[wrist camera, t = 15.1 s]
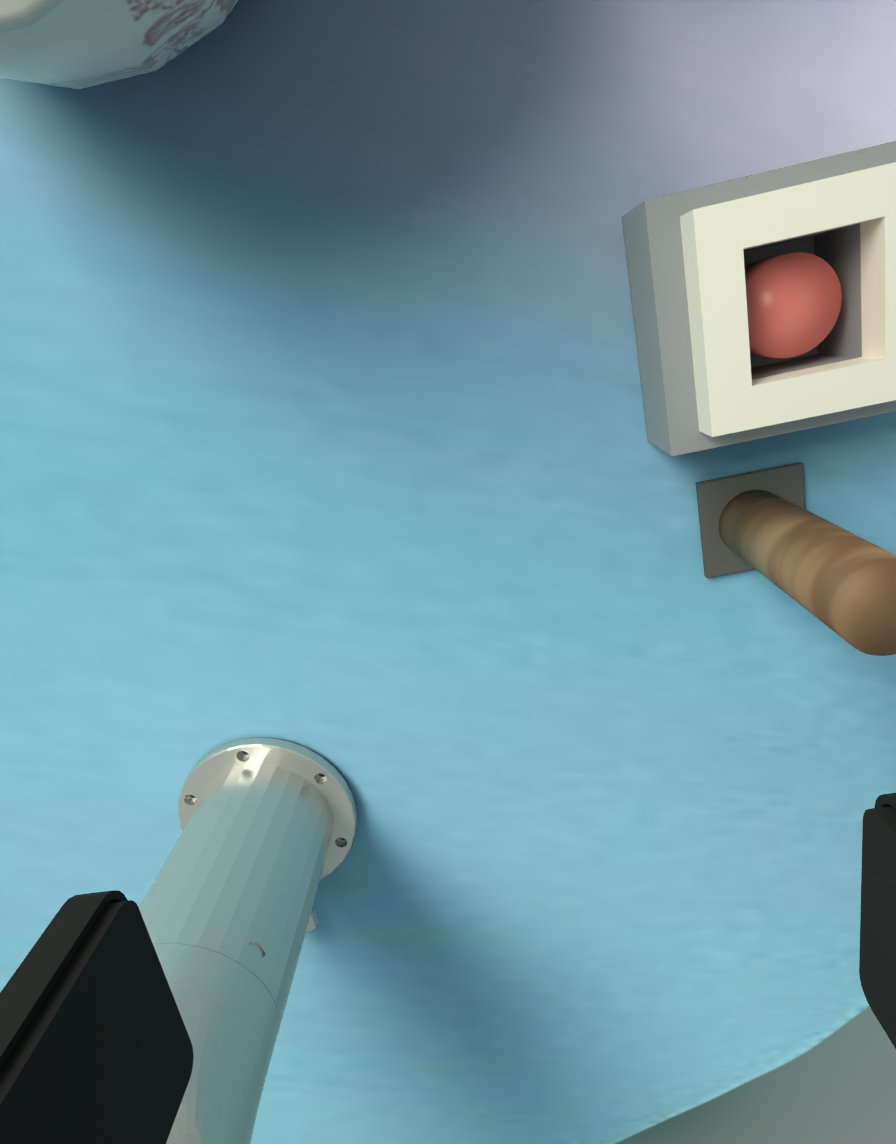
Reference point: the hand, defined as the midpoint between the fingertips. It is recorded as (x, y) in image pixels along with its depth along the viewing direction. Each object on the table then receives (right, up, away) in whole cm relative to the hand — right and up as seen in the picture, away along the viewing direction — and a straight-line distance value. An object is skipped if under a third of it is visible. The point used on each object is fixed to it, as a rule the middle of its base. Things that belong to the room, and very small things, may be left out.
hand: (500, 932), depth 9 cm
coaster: (+18, +8, +33) cm, 38 cm away
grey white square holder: (+16, +19, +29) cm, 38 cm away
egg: (+16, +19, +28) cm, 37 cm away
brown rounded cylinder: (+18, +8, +32) cm, 37 cm away
